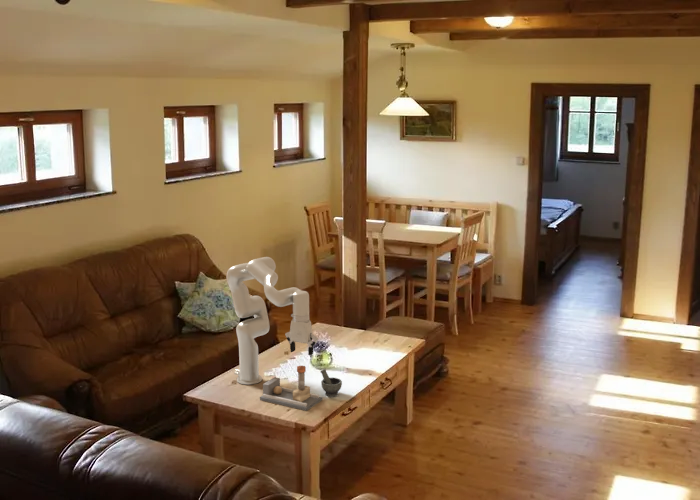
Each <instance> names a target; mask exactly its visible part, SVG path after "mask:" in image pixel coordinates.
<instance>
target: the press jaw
mask: <svg viewBox="0 0 700 500" xmlns="http://www.w3.org/2000/svg"><path fill="white" fill-rule="evenodd" d="M306 371H307V370H306V366H305V365H298V366H296V372H297V382H298V383H297V386H298V387H297V388H296V389H294V390H295V391H293V400H294V401H298V402H303V401H305V400H306V399H308V398H309V397H310V393H311V386H307V385H306V384H305V381H306V380H305V376H306V375H305V373H306Z"/></svg>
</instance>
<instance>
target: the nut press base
mask: <svg viewBox="0 0 700 500" xmlns="http://www.w3.org/2000/svg"><path fill="white" fill-rule="evenodd" d="M295 390H296V389H293V388H292V389H291V388H288V387H283V386H281V379H280V377H276V376H274V377H272V378H270V379H269V380H267V381H266V382H264V383H263V384H262V395H261V396H259V400H260V401H263V402H266V403H272V404H276V405H279V406H284V407H289V408H292V409H297V410H301V411H304V412H305V411H306V412H307V411H309V410H310V409H312V408H313V407H314V406H316V405H317V404H319V403H321V402H322V401H323V397H322V396H320V395H319V394H315V393H311V392H310V397H309V398H308V399H306V400H305V401H303V402H298V401H294V400H293V391H295Z"/></svg>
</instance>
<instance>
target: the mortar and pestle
mask: <svg viewBox="0 0 700 500" xmlns="http://www.w3.org/2000/svg"><path fill="white" fill-rule="evenodd" d="M320 373H321V376H322V380H321V382H320V383H321V388H322V389H323V391H324V395H325V396H326V397H328V398H335V397H337V396H339V391H340V390H341V388H342V385H343V381H342V379H340V378H337V377H330V376H329V374H328V372H327V369H325V368H324V369H321V370H320Z"/></svg>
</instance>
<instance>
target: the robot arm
mask: <svg viewBox="0 0 700 500" xmlns="http://www.w3.org/2000/svg"><path fill="white" fill-rule="evenodd" d="M276 266H277V265H276V262H275V260H274V259H273V258H272V257H269V256H264V257H258V258H254V259H252V260H250V261H249V262H244V263H239V264H236V265H233V266H231V267H230V268H228V269H227V272H226V277H225V278H226V282H227V285H228V288H229V290H230V293H231V297H232V303H233V308H234V311H235V314H236V316H237V317H238V318H240V319H245V318H248V319H245V320H243V321H241V322H239V323H238V324H237V326H236V328H235V329H236V330H235V331H236V337H237V341H238V357H239V360H238V361H239V369H237V368H236V369H235V370H234V372H233V374H234V375H237V378H236V381H237V383H238V384H241V385H245V386H246V385H256V384H258V383H261V382H262V380H263V376H262V375H260V372H259V368H260V367H259V346H258V343H257V342H256V340H255V339H256V338H257V337H260V336H264V335H266V334H267V333H269V331H270V320H269V316H268V315H269V314H268V309H267V306H266V302H265V301H264V298H262V297H261V296H259V295H252V296H250V292H249V288H248V286H247V285H246V284H245V283H244V282H246V281H250V280H256V281H257V282H259V284H261V285H262V286H263V291H264V295H265V298H266V299H267V300H269V302H270V303H272V304H273V305H275V306H276V307H278V308H279V307H280V308H282V307H283V308H284V307H286V306H290V305H292V313H290V317H292V319H291V321H290V327H289V328H290V329H289V331H287V332H285V333H284V334H285V337H286V340H287V341H288V343H289V346H290V347H289V349H290V353H293V352H295V351H296V343H301V344H307V345H308V348H307V349H308V350H307V351H308V353H307V354H308V356H312V355H313V354H314V346H315V345H316V344H317V342H318V340H319V337H317V336H316V335H315V334H313V326H312V322H311V320H310V294H309V291H307V290H302V289H299V288H298V287H296V286H295V287H288V288H284V289H280V290H279V289H276V287H275V286H276V284H277V282H278V280H279V275H278V273H276V269H277V268H276ZM249 317H252V318H249ZM253 317H254V318H253Z"/></svg>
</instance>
